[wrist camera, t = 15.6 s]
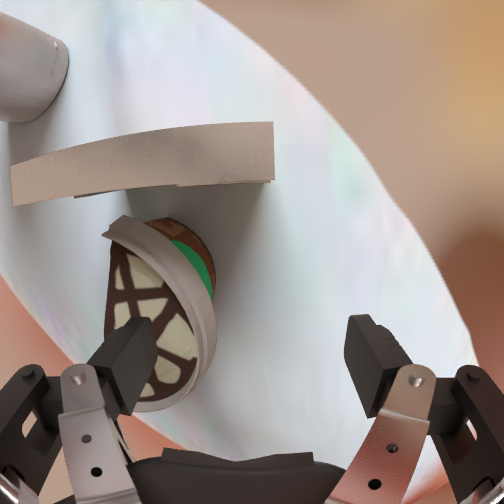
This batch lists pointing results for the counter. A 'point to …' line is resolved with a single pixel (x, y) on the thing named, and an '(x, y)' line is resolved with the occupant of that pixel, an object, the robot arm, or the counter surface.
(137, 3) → the counter surface
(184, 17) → the counter surface
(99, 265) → the counter surface
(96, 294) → the counter surface
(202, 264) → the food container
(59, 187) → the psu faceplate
